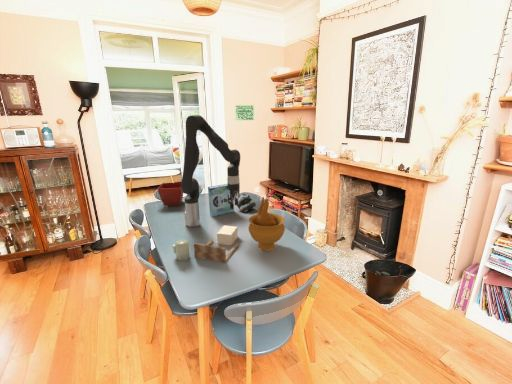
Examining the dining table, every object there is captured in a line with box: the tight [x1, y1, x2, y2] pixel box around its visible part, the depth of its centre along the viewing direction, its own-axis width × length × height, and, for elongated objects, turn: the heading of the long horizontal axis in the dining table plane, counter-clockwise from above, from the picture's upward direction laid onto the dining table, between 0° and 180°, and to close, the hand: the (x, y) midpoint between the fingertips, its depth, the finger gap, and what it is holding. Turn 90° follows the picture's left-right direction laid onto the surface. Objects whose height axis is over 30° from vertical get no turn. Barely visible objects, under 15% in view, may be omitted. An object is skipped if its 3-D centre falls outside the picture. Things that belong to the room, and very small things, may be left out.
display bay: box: [193, 239, 239, 263], centre depth 146 cm, size 18×19×8 cm
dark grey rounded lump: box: [236, 193, 257, 213], centre depth 210 cm, size 15×12×14 cm
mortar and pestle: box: [248, 196, 286, 251], centre depth 148 cm, size 21×21×30 cm
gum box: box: [207, 183, 235, 218], centre depth 200 cm, size 20×5×23 cm, turn 123°
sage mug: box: [172, 239, 191, 262], centre depth 140 cm, size 8×7×9 cm
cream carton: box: [216, 224, 239, 246], centre depth 159 cm, size 9×12×7 cm
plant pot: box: [157, 182, 184, 207], centre depth 224 cm, size 19×19×17 cm
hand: (234, 207), depth 166 cm, fingers open, 7 cm apart
